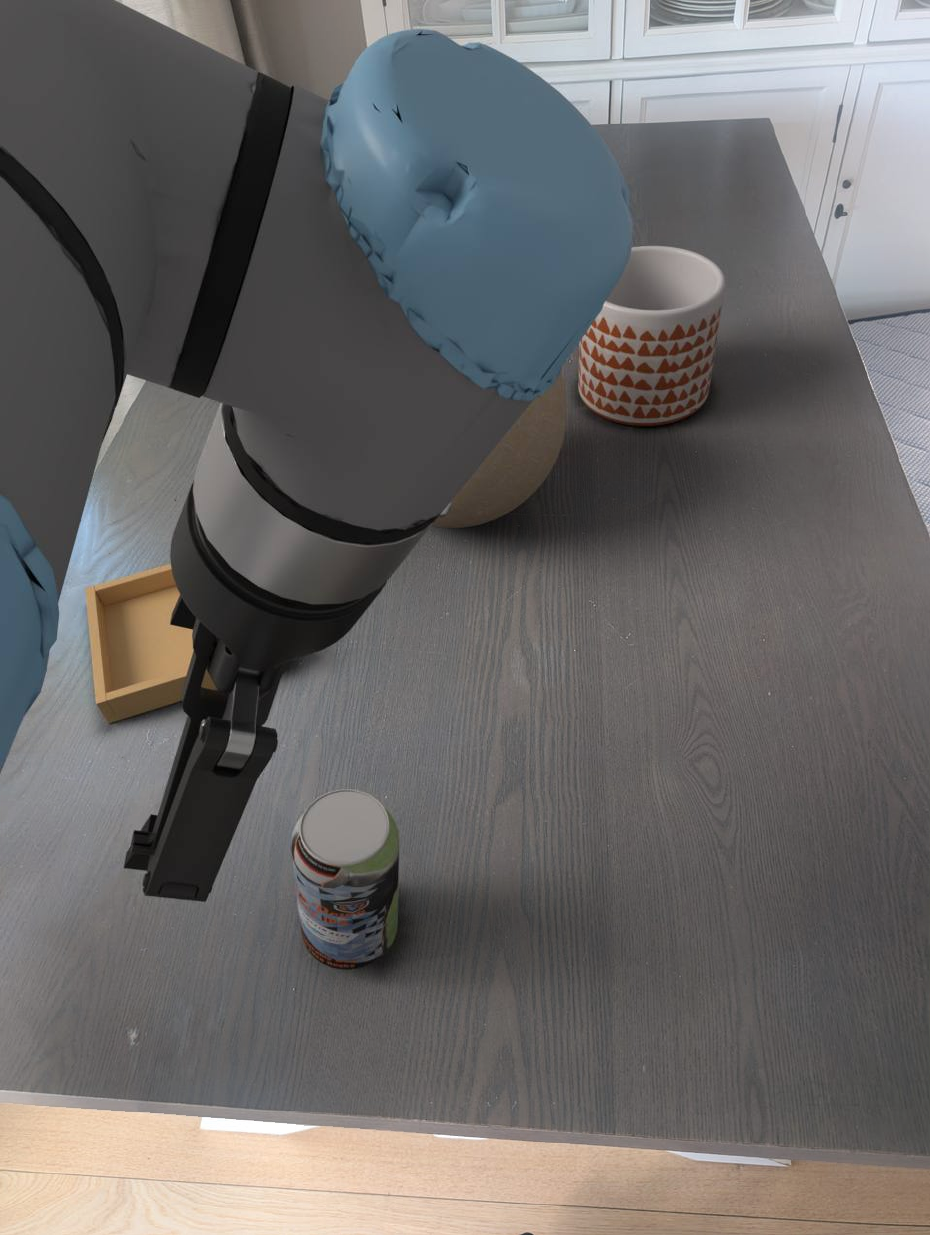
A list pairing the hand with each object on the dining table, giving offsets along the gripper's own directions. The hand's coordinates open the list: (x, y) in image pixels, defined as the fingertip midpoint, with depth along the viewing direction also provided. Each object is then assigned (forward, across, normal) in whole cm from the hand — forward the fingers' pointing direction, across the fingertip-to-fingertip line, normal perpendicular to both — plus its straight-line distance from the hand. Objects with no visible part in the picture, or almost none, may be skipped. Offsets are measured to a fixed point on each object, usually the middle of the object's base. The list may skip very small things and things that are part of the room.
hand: (175, 735), depth 47 cm
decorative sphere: (+14, +34, -24) cm, 44 cm away
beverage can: (+10, -7, -15) cm, 19 cm away
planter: (+8, +51, -43) cm, 67 cm away
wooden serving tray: (+23, +18, -3) cm, 30 cm away
